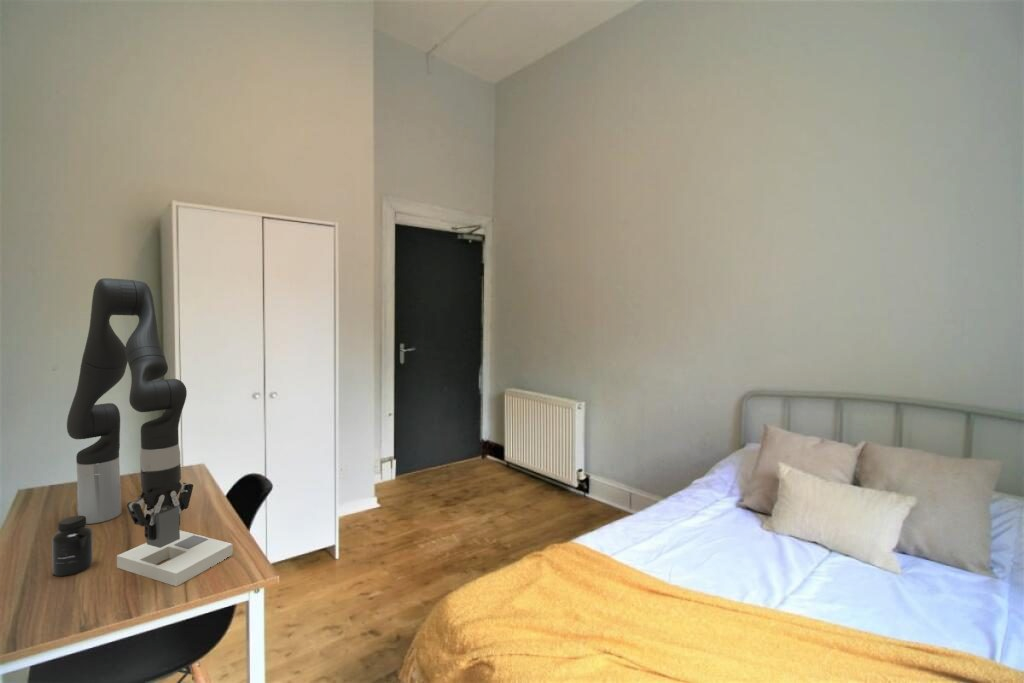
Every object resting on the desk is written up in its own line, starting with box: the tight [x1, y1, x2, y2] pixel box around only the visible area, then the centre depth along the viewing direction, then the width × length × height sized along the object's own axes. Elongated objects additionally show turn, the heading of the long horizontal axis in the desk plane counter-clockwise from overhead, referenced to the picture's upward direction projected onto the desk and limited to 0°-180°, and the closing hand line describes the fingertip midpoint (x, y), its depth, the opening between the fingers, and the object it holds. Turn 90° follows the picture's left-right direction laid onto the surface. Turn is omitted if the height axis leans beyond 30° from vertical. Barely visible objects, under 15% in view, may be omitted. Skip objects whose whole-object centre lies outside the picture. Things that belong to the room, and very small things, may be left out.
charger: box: [146, 505, 181, 548], centre depth 109 cm, size 4×4×8 cm
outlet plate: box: [116, 529, 234, 587], centre depth 113 cm, size 20×14×3 cm
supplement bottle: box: [51, 515, 93, 577], centre depth 108 cm, size 7×7×12 cm
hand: (163, 534), depth 109 cm, fingers closed on charger, 4 cm apart
